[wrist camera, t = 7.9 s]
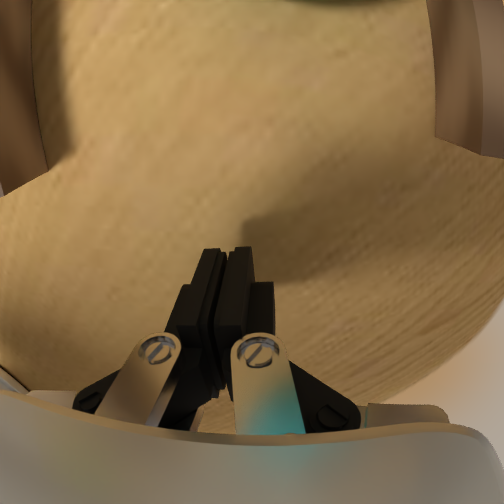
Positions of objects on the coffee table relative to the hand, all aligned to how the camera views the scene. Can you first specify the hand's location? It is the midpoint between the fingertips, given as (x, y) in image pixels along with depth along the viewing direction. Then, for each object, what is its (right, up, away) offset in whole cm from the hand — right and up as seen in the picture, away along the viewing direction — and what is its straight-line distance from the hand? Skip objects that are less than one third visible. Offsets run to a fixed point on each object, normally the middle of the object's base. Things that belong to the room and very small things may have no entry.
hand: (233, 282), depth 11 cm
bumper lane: (-1, +16, -7) cm, 18 cm away
